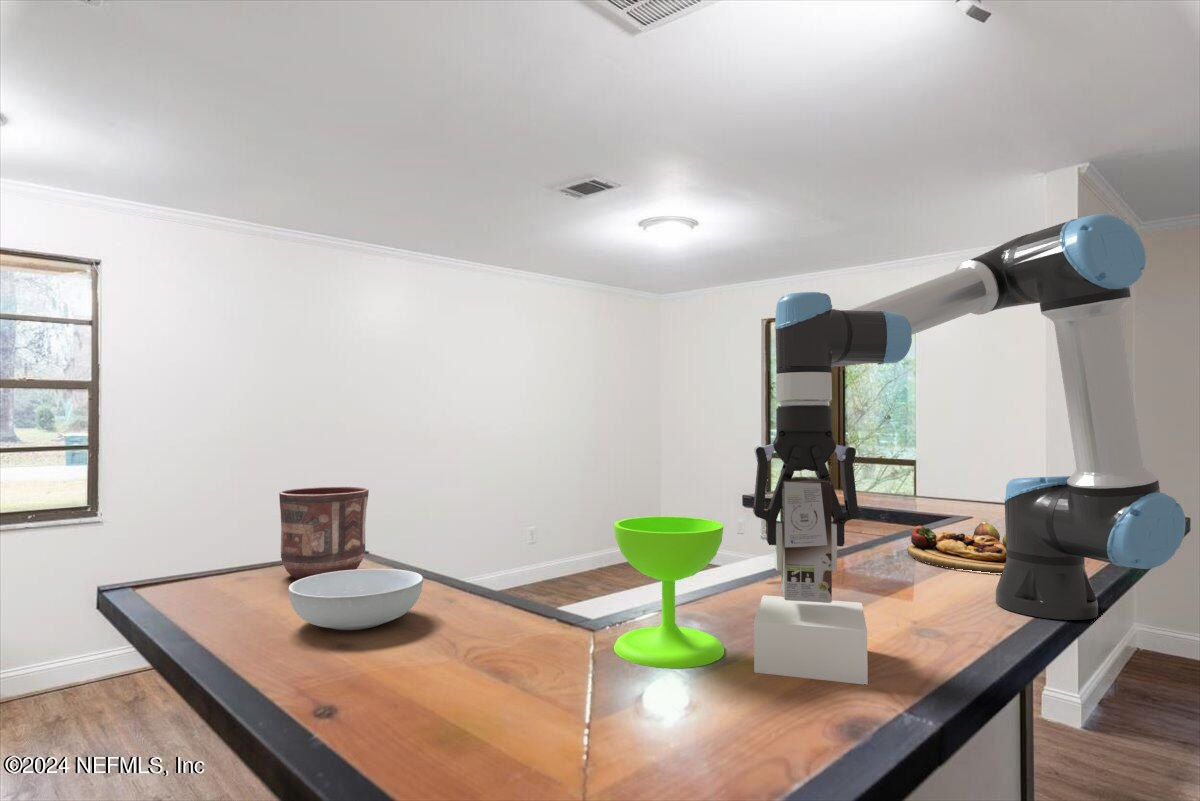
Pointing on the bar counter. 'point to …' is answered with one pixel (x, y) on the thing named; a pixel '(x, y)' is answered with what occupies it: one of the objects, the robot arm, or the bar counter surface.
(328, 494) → the pottery
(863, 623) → the plinth block
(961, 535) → the wooden plate with food
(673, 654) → the wineglass
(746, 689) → the bar counter surface
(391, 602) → the serving bowl
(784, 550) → the coffee box
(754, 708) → the bar counter surface
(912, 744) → the bar counter surface
